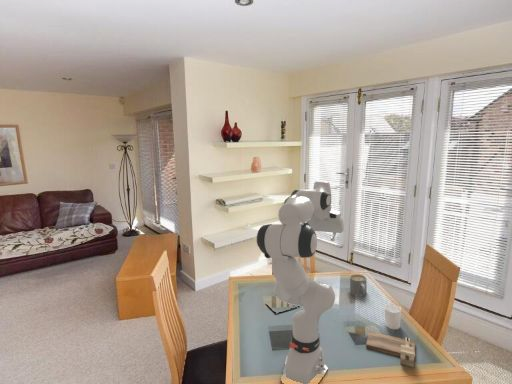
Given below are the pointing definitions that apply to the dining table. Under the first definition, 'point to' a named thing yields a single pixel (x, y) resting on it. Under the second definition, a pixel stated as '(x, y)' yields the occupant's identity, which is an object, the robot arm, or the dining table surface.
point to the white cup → (392, 316)
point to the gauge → (407, 354)
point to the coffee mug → (358, 285)
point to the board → (387, 343)
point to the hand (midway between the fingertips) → (323, 239)
